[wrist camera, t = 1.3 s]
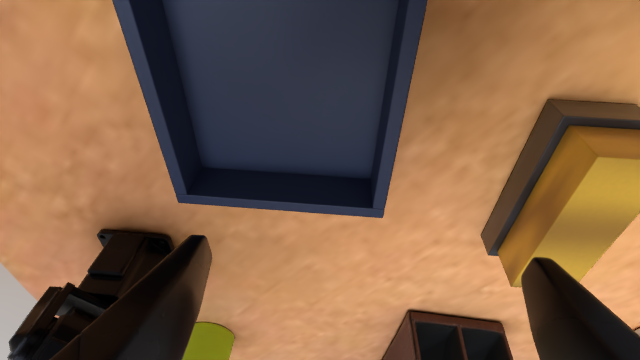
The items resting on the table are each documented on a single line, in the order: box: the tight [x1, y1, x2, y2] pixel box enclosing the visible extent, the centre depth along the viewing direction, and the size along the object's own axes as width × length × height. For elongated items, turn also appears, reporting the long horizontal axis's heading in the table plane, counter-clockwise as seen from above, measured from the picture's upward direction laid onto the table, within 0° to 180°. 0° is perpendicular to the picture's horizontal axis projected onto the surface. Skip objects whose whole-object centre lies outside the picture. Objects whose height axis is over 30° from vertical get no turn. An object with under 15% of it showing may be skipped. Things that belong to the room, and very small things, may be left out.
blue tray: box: [112, 0, 428, 218], centre depth 18 cm, size 19×14×4 cm
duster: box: [481, 99, 640, 287], centre depth 22 cm, size 12×5×5 cm, turn 179°
